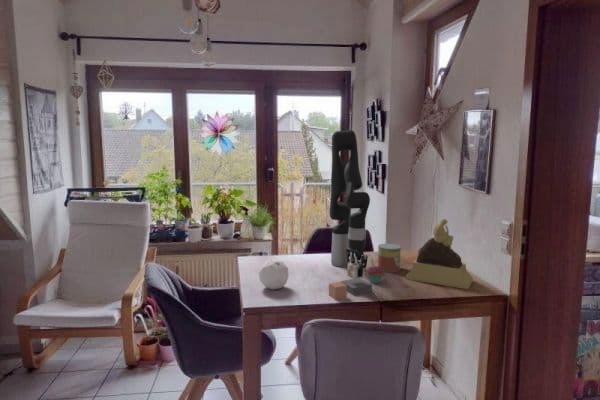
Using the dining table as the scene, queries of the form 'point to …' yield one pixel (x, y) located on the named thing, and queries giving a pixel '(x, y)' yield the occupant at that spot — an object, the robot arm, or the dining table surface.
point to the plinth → (357, 286)
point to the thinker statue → (440, 262)
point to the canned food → (389, 257)
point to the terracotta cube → (337, 290)
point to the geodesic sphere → (273, 274)
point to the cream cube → (354, 271)
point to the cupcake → (375, 273)
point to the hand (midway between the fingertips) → (356, 274)
